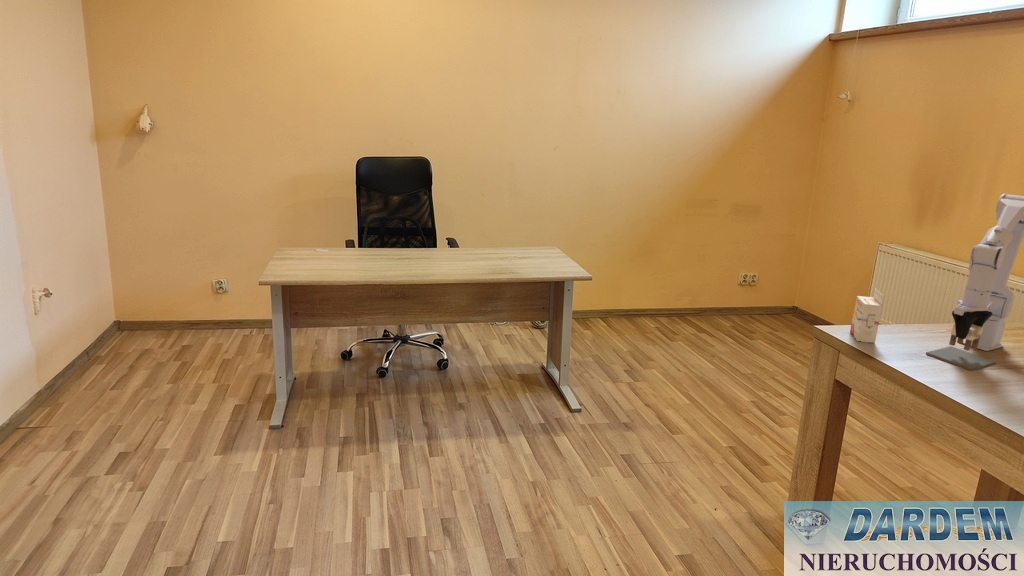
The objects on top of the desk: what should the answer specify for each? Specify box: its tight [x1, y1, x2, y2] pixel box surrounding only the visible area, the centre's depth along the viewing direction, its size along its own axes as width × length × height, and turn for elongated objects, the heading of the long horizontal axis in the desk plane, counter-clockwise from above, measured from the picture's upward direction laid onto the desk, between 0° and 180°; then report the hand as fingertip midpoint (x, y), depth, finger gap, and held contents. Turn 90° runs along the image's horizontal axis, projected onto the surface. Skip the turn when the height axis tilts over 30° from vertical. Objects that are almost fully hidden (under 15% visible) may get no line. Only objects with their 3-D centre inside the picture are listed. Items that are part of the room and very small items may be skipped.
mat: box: [925, 345, 997, 371], centre depth 178 cm, size 12×12×1 cm
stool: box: [948, 323, 983, 352], centre depth 176 cm, size 5×5×6 cm
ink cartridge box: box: [849, 287, 884, 344], centre depth 190 cm, size 9×5×15 cm, turn 168°
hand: (966, 336), depth 176 cm, fingers closed on stool, 5 cm apart
